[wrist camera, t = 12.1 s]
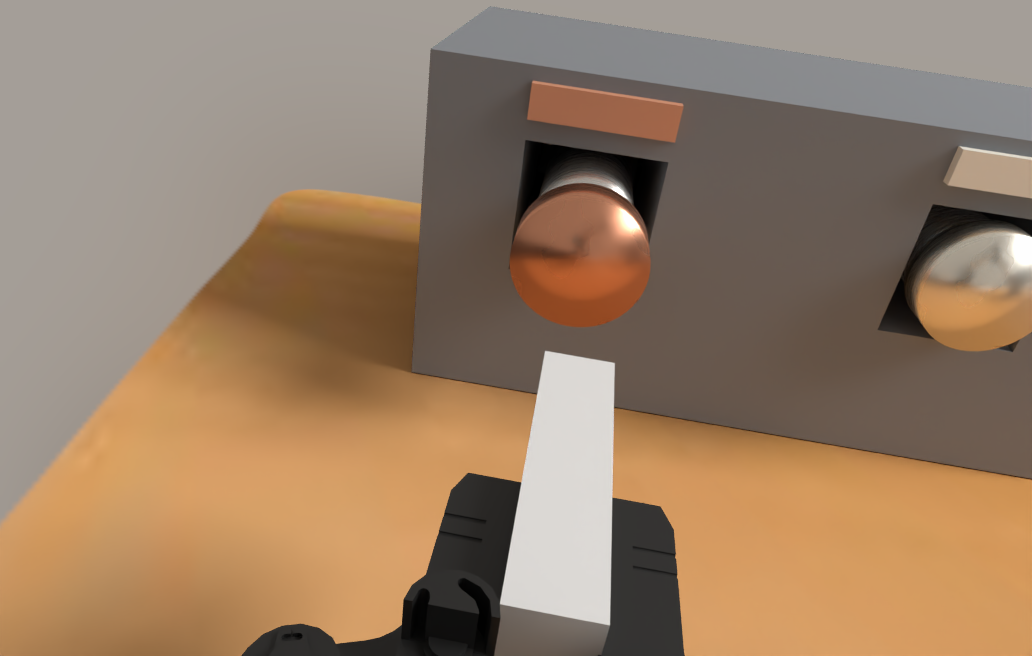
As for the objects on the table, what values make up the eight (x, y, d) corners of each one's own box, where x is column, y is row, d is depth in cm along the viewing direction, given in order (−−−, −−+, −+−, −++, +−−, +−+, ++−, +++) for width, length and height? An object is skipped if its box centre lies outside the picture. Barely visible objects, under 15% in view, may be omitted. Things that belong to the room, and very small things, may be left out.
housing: (1041, 486, 29) (1247, 176, 22) (409, 377, 30) (427, 50, 23) (919, 323, 40) (1032, 87, 34) (466, 249, 42) (489, 6, 35)
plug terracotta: (634, 337, 24) (665, 211, 21) (502, 315, 24) (518, 188, 21) (628, 212, 33) (649, 117, 31) (535, 197, 34) (549, 102, 31)
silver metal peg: (1023, 360, 26) (1089, 248, 23) (899, 340, 26) (951, 226, 23) (909, 236, 35) (947, 148, 33) (820, 222, 36) (851, 134, 33)
